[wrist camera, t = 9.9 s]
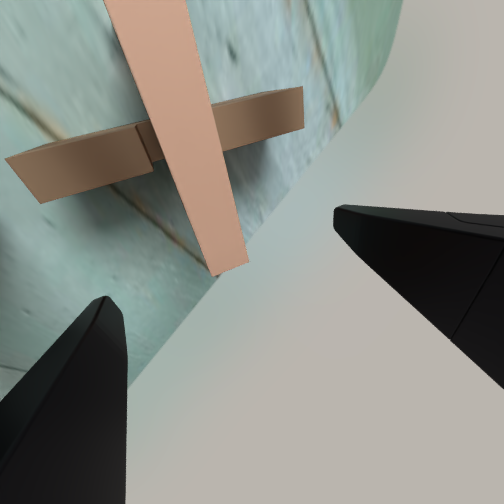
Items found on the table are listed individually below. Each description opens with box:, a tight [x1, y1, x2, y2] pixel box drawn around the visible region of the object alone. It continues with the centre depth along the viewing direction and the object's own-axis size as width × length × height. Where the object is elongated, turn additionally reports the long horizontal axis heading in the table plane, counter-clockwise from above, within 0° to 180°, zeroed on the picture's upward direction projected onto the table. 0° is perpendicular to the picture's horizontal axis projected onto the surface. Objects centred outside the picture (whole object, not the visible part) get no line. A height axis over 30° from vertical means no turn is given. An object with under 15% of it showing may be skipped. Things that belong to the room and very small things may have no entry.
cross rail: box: [5, 86, 304, 204], centre depth 13 cm, size 14×2×5 cm, turn 102°
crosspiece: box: [103, 0, 249, 277], centre depth 12 cm, size 11×2×9 cm, turn 12°
